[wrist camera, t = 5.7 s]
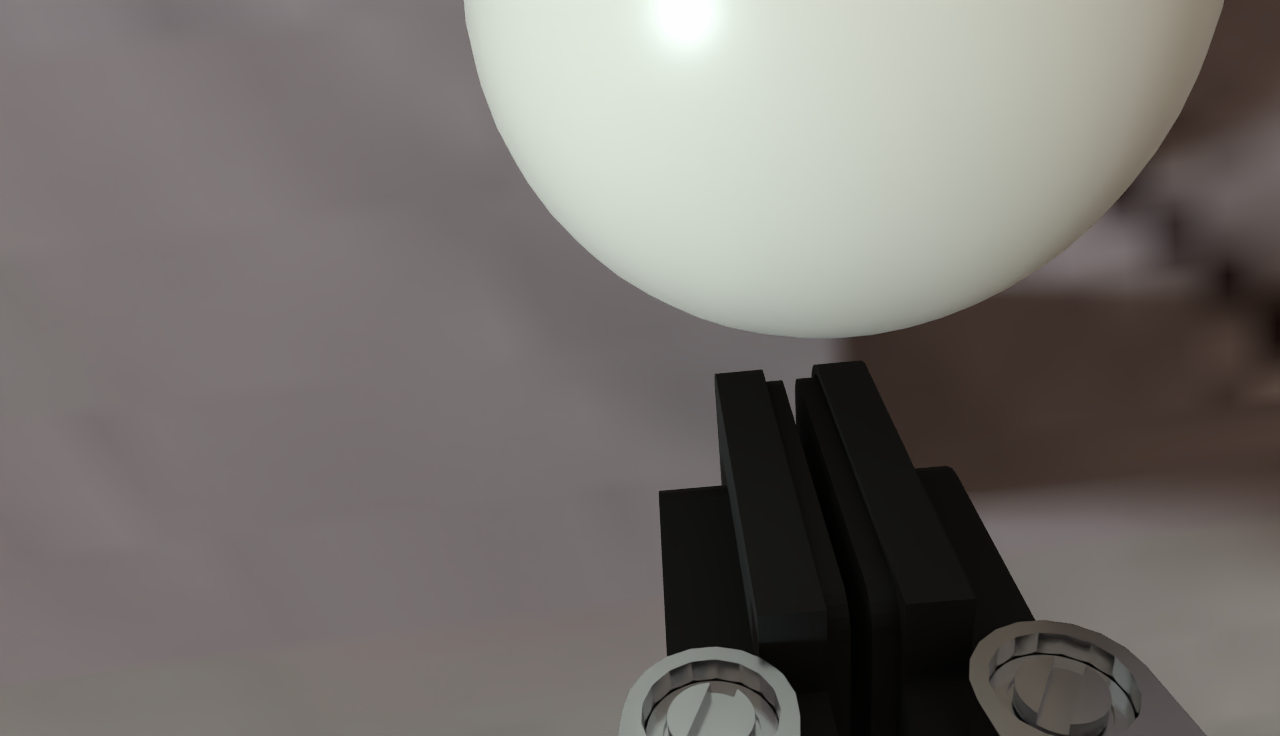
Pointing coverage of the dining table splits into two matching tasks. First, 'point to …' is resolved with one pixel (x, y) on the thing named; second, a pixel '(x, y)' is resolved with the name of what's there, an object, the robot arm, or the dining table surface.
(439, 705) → the dining table surface
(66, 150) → the dining table surface
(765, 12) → the ivory ball
